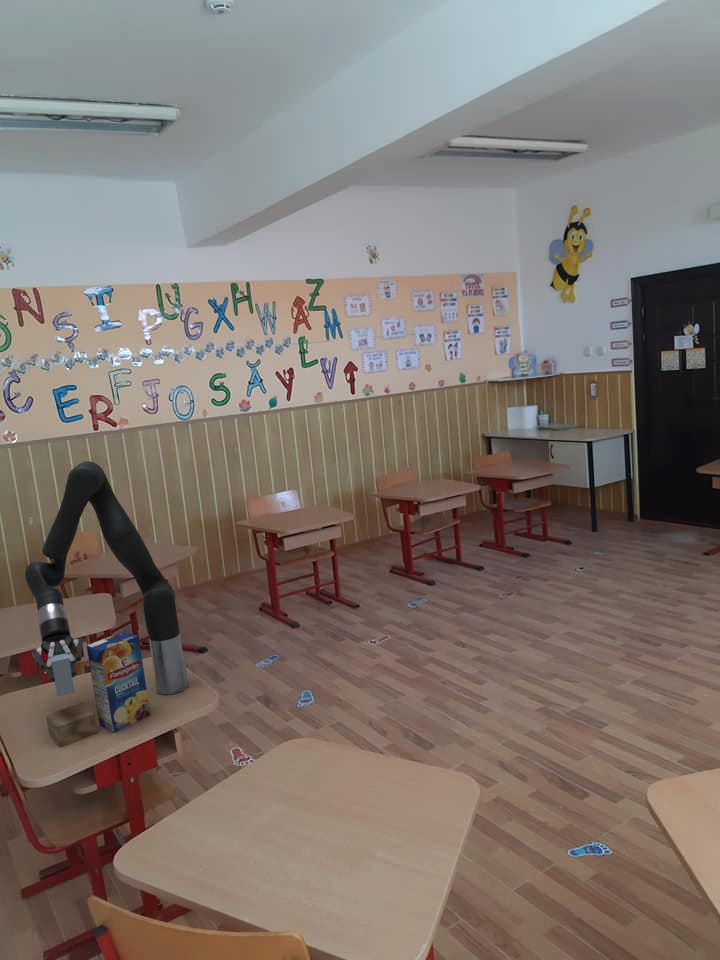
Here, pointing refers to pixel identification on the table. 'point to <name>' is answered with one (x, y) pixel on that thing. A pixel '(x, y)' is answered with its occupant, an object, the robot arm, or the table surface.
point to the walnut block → (71, 724)
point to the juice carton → (118, 681)
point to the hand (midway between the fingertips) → (63, 678)
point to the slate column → (62, 674)
